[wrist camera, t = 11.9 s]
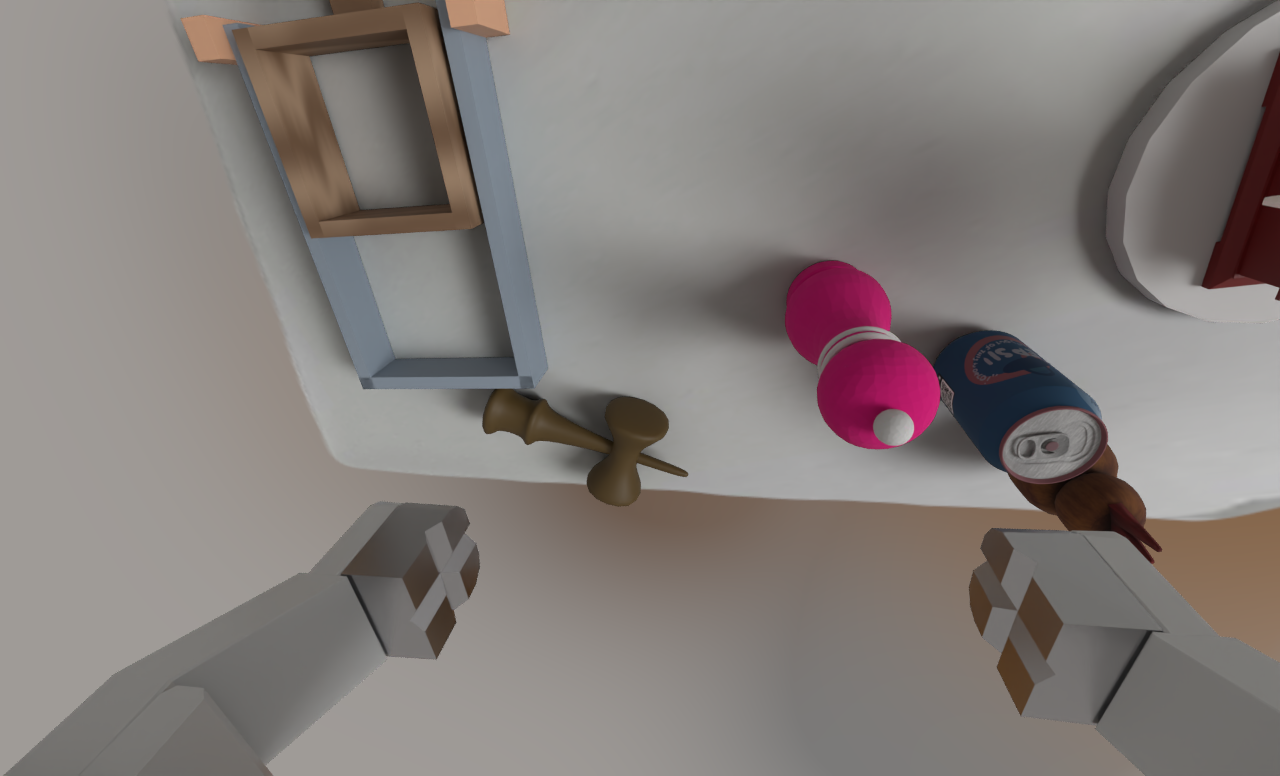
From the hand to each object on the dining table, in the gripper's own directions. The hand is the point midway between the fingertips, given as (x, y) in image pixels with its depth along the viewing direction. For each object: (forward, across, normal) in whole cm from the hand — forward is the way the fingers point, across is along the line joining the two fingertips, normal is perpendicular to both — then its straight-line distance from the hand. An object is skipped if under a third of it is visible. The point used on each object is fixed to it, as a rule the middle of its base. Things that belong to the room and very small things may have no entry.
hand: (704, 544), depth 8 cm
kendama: (+36, +12, +20) cm, 43 cm away
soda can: (+35, -20, +14) cm, 43 cm away
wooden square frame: (+35, +25, -9) cm, 44 cm away
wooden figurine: (+36, -26, +21) cm, 49 cm away
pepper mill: (+35, -8, +8) cm, 37 cm away
